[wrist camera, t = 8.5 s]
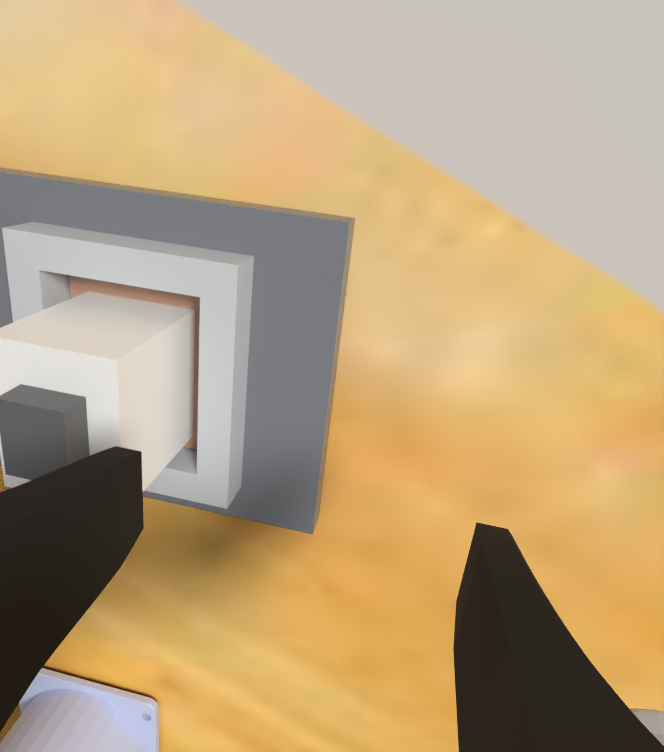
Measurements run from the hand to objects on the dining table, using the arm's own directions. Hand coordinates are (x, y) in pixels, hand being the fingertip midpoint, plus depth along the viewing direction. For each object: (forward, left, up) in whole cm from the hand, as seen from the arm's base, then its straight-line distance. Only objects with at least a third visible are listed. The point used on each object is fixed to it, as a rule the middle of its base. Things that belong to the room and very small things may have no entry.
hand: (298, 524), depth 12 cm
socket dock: (-1, +8, -9) cm, 12 cm away
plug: (-1, +8, -8) cm, 12 cm away
